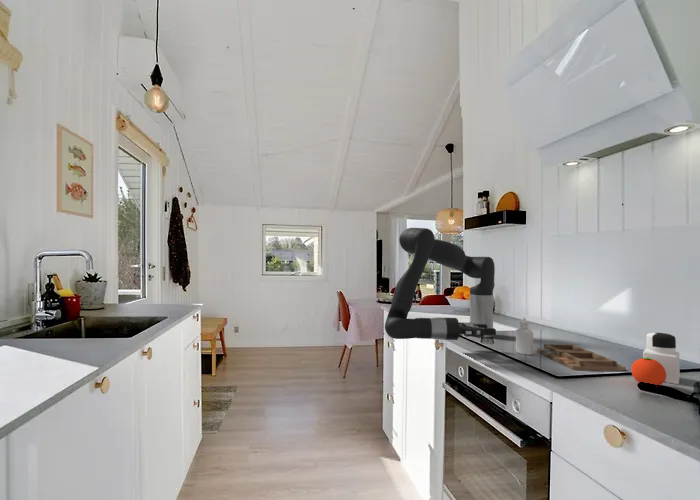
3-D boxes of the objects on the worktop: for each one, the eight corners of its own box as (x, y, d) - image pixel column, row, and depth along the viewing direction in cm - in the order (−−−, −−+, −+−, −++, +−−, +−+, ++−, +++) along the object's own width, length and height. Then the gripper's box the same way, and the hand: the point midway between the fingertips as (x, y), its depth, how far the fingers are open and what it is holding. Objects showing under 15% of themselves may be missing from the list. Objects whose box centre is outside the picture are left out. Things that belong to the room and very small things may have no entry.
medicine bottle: (679, 378, 100) (678, 333, 100) (678, 384, 94) (677, 337, 95) (645, 372, 104) (645, 330, 105) (643, 378, 99) (642, 333, 100)
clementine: (628, 378, 99) (628, 352, 99) (662, 383, 95) (661, 355, 96) (633, 387, 92) (633, 358, 92) (669, 392, 88) (669, 362, 89)
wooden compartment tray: (536, 351, 129) (536, 344, 129) (580, 351, 129) (580, 344, 129) (572, 369, 107) (572, 361, 107) (625, 370, 107) (625, 361, 107)
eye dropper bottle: (527, 351, 129) (526, 316, 129) (535, 355, 123) (534, 319, 124) (514, 351, 129) (514, 316, 129) (522, 355, 123) (521, 319, 124)
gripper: (448, 320, 120) (498, 321, 120) (439, 314, 134) (484, 315, 134) (448, 344, 120) (498, 345, 119) (439, 335, 134) (484, 336, 134)
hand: (491, 329), depth 127 cm, fingers open, 8 cm apart
